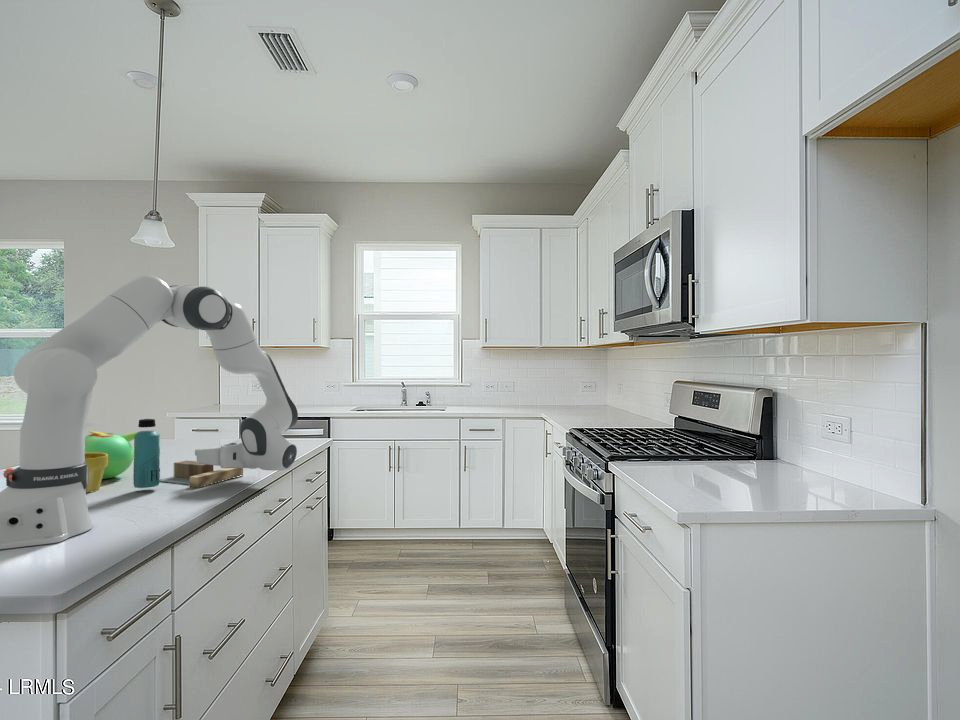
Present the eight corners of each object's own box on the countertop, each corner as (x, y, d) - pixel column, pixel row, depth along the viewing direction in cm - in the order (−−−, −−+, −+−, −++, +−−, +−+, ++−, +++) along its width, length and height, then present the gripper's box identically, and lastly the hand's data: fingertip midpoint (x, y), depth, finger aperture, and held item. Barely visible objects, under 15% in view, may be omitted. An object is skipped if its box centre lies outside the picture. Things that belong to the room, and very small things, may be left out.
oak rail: (197, 488, 162) (197, 477, 162) (189, 487, 163) (189, 476, 163) (243, 476, 179) (243, 466, 179) (235, 475, 180) (235, 465, 180)
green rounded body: (52, 481, 167) (53, 431, 167) (105, 471, 183) (105, 425, 183) (98, 486, 162) (99, 435, 162) (148, 475, 178) (149, 428, 178)
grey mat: (193, 485, 165) (193, 484, 165) (157, 481, 169) (157, 480, 169) (229, 476, 178) (229, 475, 178) (194, 472, 183) (194, 471, 183)
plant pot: (97, 494, 153) (98, 458, 153) (54, 495, 150) (54, 459, 150) (113, 486, 163) (114, 452, 163) (73, 487, 160) (73, 452, 160)
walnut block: (202, 465, 170) (173, 462, 173) (201, 480, 170) (173, 477, 173) (213, 462, 174) (185, 460, 178) (213, 477, 174) (185, 474, 178)
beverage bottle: (151, 493, 154) (152, 420, 154) (126, 493, 154) (128, 420, 154) (164, 488, 161) (165, 418, 161) (141, 487, 161) (142, 417, 161)
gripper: (270, 437, 177) (234, 435, 182) (220, 446, 158) (182, 443, 162) (269, 458, 177) (234, 454, 182) (220, 469, 158) (181, 465, 162)
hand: (209, 449), depth 172 cm, fingers open, 8 cm apart
